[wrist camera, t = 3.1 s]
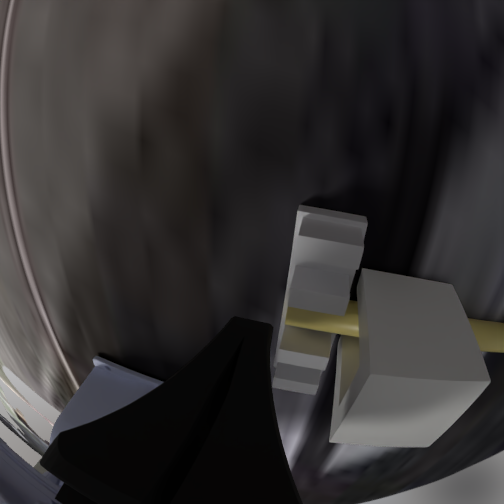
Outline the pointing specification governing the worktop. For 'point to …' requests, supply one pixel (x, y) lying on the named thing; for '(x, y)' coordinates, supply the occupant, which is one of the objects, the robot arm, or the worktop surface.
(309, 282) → the cable comb
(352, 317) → the fibre cord
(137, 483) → the robot arm
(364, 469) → the worktop surface
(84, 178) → the worktop surface
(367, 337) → the light grey block
